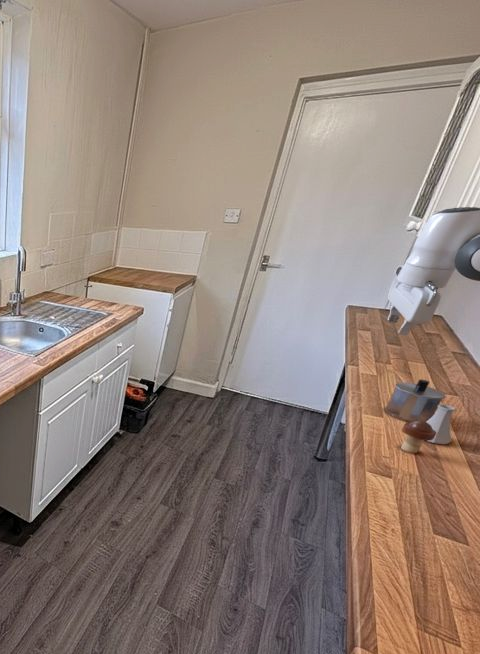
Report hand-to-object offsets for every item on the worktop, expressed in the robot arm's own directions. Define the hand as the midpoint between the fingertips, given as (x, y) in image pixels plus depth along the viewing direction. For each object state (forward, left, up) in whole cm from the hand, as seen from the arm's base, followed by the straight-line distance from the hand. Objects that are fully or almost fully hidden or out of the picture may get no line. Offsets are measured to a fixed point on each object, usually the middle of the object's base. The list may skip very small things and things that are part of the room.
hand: (396, 327), depth 109 cm
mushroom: (-11, +6, -31) cm, 34 cm away
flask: (-18, -6, -31) cm, 36 cm away
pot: (-15, -20, -31) cm, 40 cm away
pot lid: (-15, -20, -23) cm, 34 cm away
